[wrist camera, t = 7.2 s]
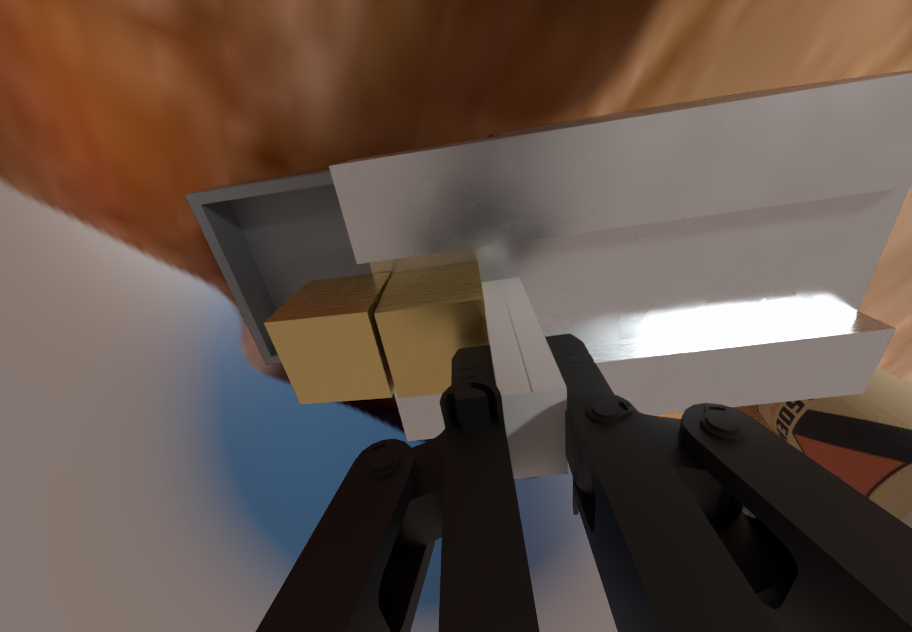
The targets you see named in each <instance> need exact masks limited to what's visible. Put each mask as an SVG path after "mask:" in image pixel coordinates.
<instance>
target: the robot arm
mask: <svg viewBox="0 0 912 632" xmlns="http://www.w3.org/2000/svg"><path fill="white" fill-rule="evenodd" d="M481 284H482V290H483V296H484V303H485V311H486V312H485V315H486V323H487V331H488V339H489V345H484V346H476V347H468V348H460V349H458V350H457V352H456V353H455V355H454V356H453V358H452V367H451V370H452V372H451V386H449V387H448V388H447V389H446V390H445V391H444V392H443V393H442V396H441V399H440V402H439V403H440V407H441V412H442V416H443V421H444V425H445V429H444V430H443V431H442V433H441V434H439V435H438V436H437V437H435V438H434V439H432V440H430V441H428V442H426V443H423V444H420V445H418V446H415V447H413V448H411V447H410V446H409V445H408V444H407V443H406V442H404V441H400V440H397V439H389V440H382V441H379V442H377V443H374V444H372V445H370V446H369V447H368V448H366V449H365V450H363V451H362V452H361V454H360V455H359V456H358V457H357V459H356V460H355V461H354V463H353V465H352V466H351V468H350V470H349V471H348V473H347V475H346V477H345V478H344V480H343V482H342V484H341V485H340V487H339V489H338V490H337V492H336V494H335V496H334V498H333V499H332V501H331V503H330V504H329V506H328V508H327V509H326V511H325V513H324V515H323V516H322V518H321V520H320V522H319V523H318V525H317V527H316V528H315V530H314V532H313V534H312V535H311V537H310V539H309V541H308V542H307V544H306V546H305V547H304V549H303V551H302V553H301V554H300V556H299V558H298V559H297V561H296V563H295V565H294V566H293V568H292V570H291V572H290V573H289V575H288V577H287V578H286V580H285V582H284V584H283V585H282V587H281V589H280V591H279V592H278V594H277V596H276V597H275V599H274V601H273V603H272V604H271V606H270V608H269V610H268V611H267V613H266V615H265V617H264V618H263V620H262V622H261V623H260V625H259V627H258V629H257V630H256V632H410V631H411V627H412V623H413V620H414V616H415V612H416V609H417V606H418V602H419V598H420V594H421V591H422V587H423V584H424V580H425V577H426V573H427V570H428V566H429V562H430V559H431V555H432V552H433V548H434V544H435V540H437V539H439V538H441V537H442V550H441V579H440V607H439V632H539V626H538V621H537V615H536V608H535V603H534V596H533V591H532V584H531V579H530V573H529V567H528V561H527V555H526V549H525V543H524V537H523V531H522V525H521V519H520V513H519V507H518V501H517V495H516V489H515V483H514V479H518V478H528V477H538V476H548V475H558V474H567V473H568V469H567V461H568V464H569V467H570V469H571V472H572V475H573V513H574V515H576V514H578V509H579V512H580V515H581V518H582V521H583V525H584V528H585V530H586V534H587V537H588V540H589V543H590V546H591V550H592V553H593V556H594V559H595V562H596V565H597V568H598V571H599V574H600V578H601V581H602V584H603V587H604V590H605V593H606V596H607V599H608V602H609V606H610V609H611V612H612V615H613V618H614V621H615V624H616V627H617V630H618V632H912V528H911V527H909V526H908V525H906V524H905V523H903V522H902V521H901V520H899V519H898V518H896V517H895V516H893V515H892V514H890V513H889V512H888V511H886V510H885V509H883V508H882V507H880V506H879V505H877V504H876V503H875V502H873V501H872V500H870V499H869V498H867V497H866V496H864V495H863V494H862V493H860V492H859V491H857V490H856V489H854V488H853V487H851V486H850V485H849V484H847V483H846V482H844V481H843V480H841V479H840V478H838V477H837V476H835V475H834V474H833V473H831V472H830V471H828V470H827V469H825V468H824V467H822V466H821V465H820V464H818V463H817V462H815V461H814V460H812V459H811V458H809V457H808V456H807V455H805V454H804V453H802V452H801V451H799V450H798V449H796V448H795V447H794V446H792V445H791V444H789V443H788V442H786V441H785V440H783V439H782V438H781V437H779V436H778V435H776V434H775V433H773V432H772V431H770V430H769V429H768V428H766V427H765V426H763V425H762V424H760V423H759V422H757V421H756V420H755V419H753V418H752V417H750V416H748V415H746V414H745V413H743V412H741V411H739V410H737V409H734V408H731V407H728V406H725V405H722V404H713V403H702V404H694V405H692V406H691V407H689V408H687V409H685V411H684V414H683V416H682V419H675V418H667V417H658V416H652V415H647V414H643V413H640V412H638V411H637V409H636V408H635V407H634V406H633V405H632V404H631V403H630V402H629V401H627V400H626V399H624V398H622V397H620V396H618V395H615V394H614V393H613V391H612V389H611V388H610V386H609V384H608V383H607V381H606V379H605V378H604V376H603V374H602V373H601V371H600V369H599V368H598V366H597V365H596V363H594V360H593V358H592V356H591V355H590V354H589V351H588V350H587V348H586V346H585V345H584V343H583V341H581V340H580V339H578V338H577V337H575V336H574V335H572V334H571V333H570V334H562V335H554V336H546V337H545V336H544V334H543V332H542V329H541V327H540V325H539V322H538V320H537V318H536V315H535V313H534V311H533V308H532V306H531V304H530V301H529V299H528V297H527V294H526V292H525V290H524V287H523V285H522V283H521V280H520V278H519V277H516V278H509V279H502V280H495V281H488V282H481Z"/></svg>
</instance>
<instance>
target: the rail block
mask: <svg viewBox="0 0 912 632" xmlns="http://www.w3.org/2000/svg"><path fill="white" fill-rule="evenodd" d="M329 168H330V172H331V175H332V179H333V182H334V186H335V189H336V193H337V196H338V200H339V203H340V207H341V210H342V214H343V217H344V221H345V224H346V228H347V231H348V235H349V238H350V242H351V245H352V249H353V252H354V256H355V259H356V263H357V264H362V263H370V266H371V270H372V274H374V273H383V272H391V274H393V273H400V272H407V271H415V270H422V269H429V268H436V267H443V266H450V265H458V264H465V263H472V262H478V265H479V271H480V278H481V282H488V281H495V280H502V279H509V278H516V277H519V278H520V280H521V283H522V285H523V287H524V290H525V292H526V294H527V297H528V299H529V301H530V304H531V306H532V308H533V311H534V313H535V315H536V318H537V320H538V322H539V325H540V327H541V329H542V332H543V334H544V336H545V337H546V336H554V335H562V334H570V333H571V334H572V335H574V336H575V337H577V338H578V339H580V340H581V341H583V343H584V345H585V346H586V348H587V350H588V351H589V354H590V355H591V356H592V358H593V360H594V363H596V365H597V366H598V368H599V369H600V371H601V373H602V374H603V376H604V378H605V379H606V381H607V383H608V384H609V386H610V388H611V389H612V391H613V393H614V394H615V395H618V396H620V397H622V398H624V399H626V400H627V401H629V402H630V403H631V404H632V405H633V406H634V407H635V408H636V409H637V411H638V412H640V413H643V414H647V415H662V414H671V413H681V412H684V411H685V409H687V408H689V407H691V406H692V405H694V404H702V403H713V404H722V405H725V406H728V407H738V406H748V405H758V404H767V403H777V402H786V401H796V400H806V399H815V398H825V397H834V396H844V395H854V394H863V393H864V392H865V390H866V388H867V386H868V384H869V382H870V380H871V378H872V376H873V374H874V372H875V370H876V368H877V366H878V364H879V362H880V360H881V358H882V356H883V353H884V351H885V349H886V347H887V345H888V343H889V341H890V339H891V337H892V335H893V333H894V331H895V329H896V328H894V327H892V326H890V325H887V324H885V323H883V322H881V321H879V320H876V319H874V318H872V317H870V316H867V315H865V314H863V313H861V312H858V311H857V310H858V308H859V305H860V303H861V301H862V298H863V296H864V294H865V291H866V289H867V287H868V284H869V282H870V279H871V277H872V275H873V272H874V270H875V268H876V265H877V263H878V261H879V258H880V256H881V254H882V251H883V249H884V247H885V244H886V242H887V239H888V237H889V235H890V232H891V230H892V228H893V225H894V223H895V221H896V218H897V216H898V214H899V211H900V209H901V207H902V204H903V202H904V199H905V197H906V195H907V192H908V190H909V188H910V187H912V70H909V71H901V72H894V73H886V74H879V75H872V76H864V77H857V78H849V79H842V80H835V81H827V82H820V83H812V84H805V85H798V86H790V87H783V88H775V89H768V90H761V91H753V92H747V93H740V94H734V95H728V96H722V97H715V98H709V99H703V100H697V101H691V102H684V103H678V104H672V105H666V106H660V107H653V108H647V109H641V110H635V111H628V112H622V113H616V114H610V115H604V116H597V117H591V118H585V119H579V120H573V121H566V122H560V123H554V124H548V125H541V126H535V127H529V128H523V129H517V130H510V131H504V132H498V133H492V134H491V137H490V138H484V139H478V140H471V141H465V142H459V143H453V144H446V145H440V146H434V147H428V148H422V149H415V150H409V151H403V152H397V153H390V154H384V155H378V156H372V157H365V158H359V159H353V160H349V161H346V162H342V163H338V164H335V165H331V166H329ZM394 395H395V399H396V402H397V406H398V409H399V413H400V416H401V420H402V423H403V427H404V430H405V434H406V437H407V441H412V440H422V439H432V438H435V437H437V436H438V435H439V434H441V433H442V431H443V430H444V429H445V425H444V421H443V416H442V412H441V407H440V403H439V402H440V399H441V396H442V394H433V395H425V396H416V397H407V398H398V396H397V392H396V389H394Z"/></svg>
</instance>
